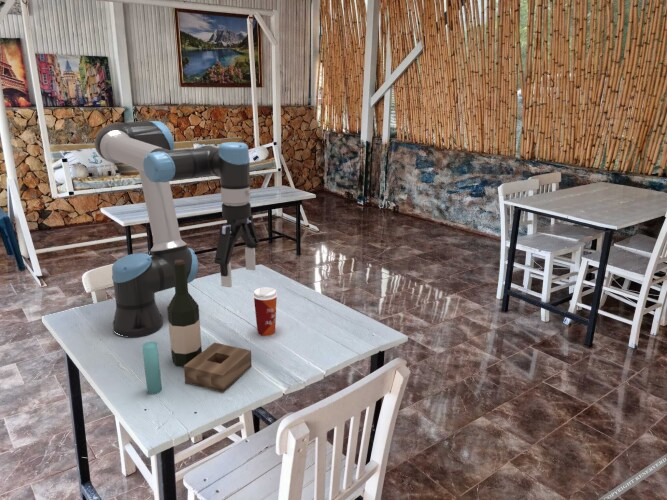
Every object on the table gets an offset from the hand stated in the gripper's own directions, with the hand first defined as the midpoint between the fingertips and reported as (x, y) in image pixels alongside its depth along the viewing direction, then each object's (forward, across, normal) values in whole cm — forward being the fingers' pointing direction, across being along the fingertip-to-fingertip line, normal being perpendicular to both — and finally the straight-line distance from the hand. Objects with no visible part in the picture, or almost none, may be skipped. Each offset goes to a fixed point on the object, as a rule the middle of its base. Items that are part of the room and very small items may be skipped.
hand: (239, 277), depth 145 cm
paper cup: (+25, +16, 0) cm, 30 cm away
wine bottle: (+25, -8, +14) cm, 29 cm away
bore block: (+24, -11, +1) cm, 27 cm away
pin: (+24, -24, +13) cm, 36 cm away
